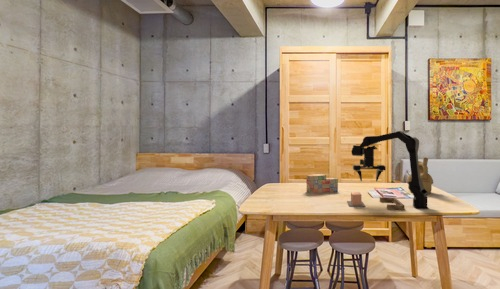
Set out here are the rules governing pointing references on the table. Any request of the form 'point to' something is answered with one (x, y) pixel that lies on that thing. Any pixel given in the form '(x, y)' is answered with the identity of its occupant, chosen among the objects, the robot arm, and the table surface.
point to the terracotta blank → (355, 198)
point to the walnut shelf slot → (392, 207)
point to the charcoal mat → (355, 205)
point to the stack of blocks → (321, 184)
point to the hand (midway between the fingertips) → (368, 181)
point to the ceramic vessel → (424, 176)
